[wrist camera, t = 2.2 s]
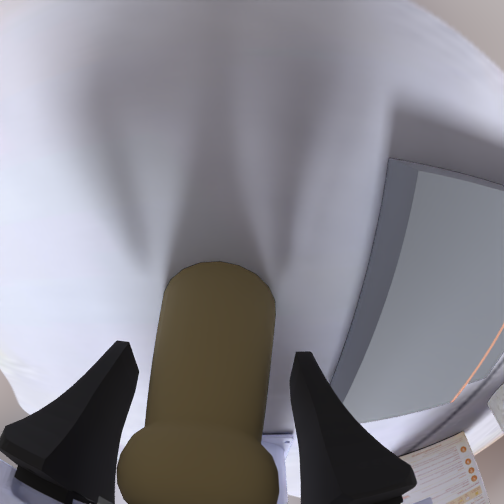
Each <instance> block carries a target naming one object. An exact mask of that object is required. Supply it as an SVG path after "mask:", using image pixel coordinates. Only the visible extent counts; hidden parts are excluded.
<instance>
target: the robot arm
mask: <svg viewBox="0 0 504 504" xmlns="http://www.w3.org/2000/svg"><path fill="white" fill-rule="evenodd" d="M138 375H139V370H138V367H137V364H136V361H135V358H134V355H133V352H132V349H131V346H130V343H129V342H124V341H116V342H115V343H114V344H113V345H112V346H111V347H110V348H109V349H108V350H107V352H106V353H105V354H104V355H103V356H102V357H101V358H100V359H99V360H98V361H97V362H96V363H95V364H94V365H93V366H92V367H91V368H90V369H89V370H88V371H87V373H86V374H85V375H83V376H82V377H81V378H80V379H79V380H78V381H77V382H76V383H75V384H74V385H73V386H72V387H71V388H69V389H68V390H67V391H66V392H65V393H63V394H62V395H61V396H60V397H58V398H57V399H56V400H54V401H53V402H51V403H50V404H48V405H47V406H45V407H44V408H42V409H40V410H39V411H37V412H35V413H33V414H32V415H30V416H28V417H26V418H24V419H22V420H19V421H17V422H14V423H12V424H10V425H7V426H5V429H4V431H3V433H2V435H1V437H0V451H1V452H2V453H4V454H5V455H6V456H7V457H9V458H10V459H11V460H12V461H13V462H15V463H16V464H17V465H18V467H17V469H15V468H14V467H13V466H11V465H9V464H8V463H6V462H5V461H3V460H1V459H0V504H89V503H90V504H115V496H114V493H115V473H116V464H117V456H118V449H119V443H120V438H121V434H122V430H123V427H124V424H125V420H126V417H127V414H128V411H129V408H130V405H131V402H132V399H133V396H134V393H135V390H136V385H137V380H138ZM290 396H291V405H292V411H293V417H294V422H295V428H296V433H297V439H298V445H299V455H300V476H301V504H400V503H402V502H403V497H402V495H403V494H405V493H406V492H408V491H410V490H411V489H413V488H414V487H415V486H416V485H417V480H416V476H415V474H414V471H413V469H412V467H411V465H410V464H408V463H406V462H405V461H403V460H402V459H400V458H399V457H397V456H396V455H395V454H393V453H392V452H391V451H389V450H388V449H387V448H385V447H384V446H383V445H382V444H381V443H379V442H378V441H377V440H376V439H375V438H374V437H373V436H372V435H370V434H369V433H368V432H367V431H366V430H365V429H364V428H363V427H362V426H361V425H360V424H359V422H358V421H357V420H356V419H355V418H354V417H353V416H352V415H351V413H350V412H349V411H348V410H347V408H346V407H345V406H344V404H343V403H342V402H341V400H340V399H339V398H338V396H337V395H336V393H335V392H334V390H333V389H332V387H331V386H330V384H329V383H328V381H327V380H326V378H325V376H324V375H323V373H322V371H321V369H320V368H319V366H318V364H317V362H316V360H315V358H314V356H313V354H312V353H311V352H296V354H295V359H294V363H293V368H292V372H291V377H290ZM293 440H294V438H293V435H291V434H283V435H262V441H261V444H262V445H263V446H264V448H265V449H266V450H267V451H268V452H269V453H270V454H271V455H272V456H273V459H274V462H275V464H276V467H277V470H278V476H279V496H278V500H277V504H288V496H287V481H286V467H285V459H286V457H287V455H288V452H289V450H290V447H291V445H292V442H293ZM413 504H433V502H432V498H430V497H429V498H426V499H424V500H421V501H419V502H416V503H413Z"/></svg>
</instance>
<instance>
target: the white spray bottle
mask: <svg viewBox="0 0 504 504" xmlns="http://www.w3.org/2000/svg"><path fill="white" fill-rule="evenodd" d="M488 407H489V408H490V410H491V411H492V413H493V415H494V417H495V418H496V420H497V422H498V424H499V425H500V427H501V429H502V431H503V433H504V384H502V385H501V386H500V388H499V389H498V390H497V391H496V392H495V393H494V394H493V395H492V397H491V398H490V400H489V401H488Z"/></svg>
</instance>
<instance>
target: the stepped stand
mask: <svg viewBox="0 0 504 504" xmlns="http://www.w3.org/2000/svg"><path fill="white" fill-rule="evenodd" d="M503 352H504V186H503V185H500V184H497V183H494V182H490V181H487V180H484V179H480V178H477V177H473V176H469V175H466V174H462V173H458V172H454V171H450V170H446V169H442V168H437V167H433V166H428V165H424V164H419V163H414V162H409V161H404V160H398V159H393V158H389V163H388V170H387V176H386V182H385V189H384V194H383V200H382V205H381V211H380V216H379V221H378V226H377V230H376V235H375V239H374V244H373V248H372V252H371V257H370V261H369V265H368V269H367V273H366V276H365V280H364V284H363V287H362V291H361V295H360V298H359V302H358V305H357V308H356V312H355V315H354V318H353V321H352V324H351V328H350V331H349V334H348V337H347V340H346V343H345V346H344V349H343V351H342V354H341V357H340V360H339V363H338V365H337V368H336V371H335V373H334V376H333V379H332V381H331V384H330V386H331V387H332V389H333V390H334V392H335V393H336V395H337V396H338V398H339V399H340V400H341V402H342V403H343V404H344V406H345V407H346V408H347V410H348V411H349V412H350V413H351V415H352V416H353V417H354V418H355V419H356V420H357V421H358V422H359V424H360V423H366V422H372V421H378V420H383V419H388V418H393V417H398V416H403V415H407V414H411V413H415V412H419V411H423V410H427V409H431V408H434V407H438V406H441V405H445V404H448V403H451V402H453V401H454V400H455V399H456V398H457V397H458V395H459V394H460V393H461V391H462V390H463V389H464V388H465V386H466V385H467V384H469V383H472V382H475V381H478V380H481V379H484V378H486V377H487V376H488V374H489V373H490V372H491V370H492V369H493V367H494V366H495V364H496V363H497V361H498V360H499V358H500V357H501V355H502V354H503Z"/></svg>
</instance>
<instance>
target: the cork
mask: <svg viewBox="0 0 504 504" xmlns="http://www.w3.org/2000/svg"><path fill="white" fill-rule="evenodd" d="M275 316H276V313H275V300H274V297H273V295H272V293H271V291H270V289H269V287H268V286H267V285H266V284H265V283H264V282H263V281H262V280H261V279H260V278H259V277H258V276H257V275H256V274H254V273H253V272H251V271H249V270H247V269H245V268H243V267H241V266H239V265H234V264H229V263H225V262H220V261H218V262H204V263H198V264H195V265H193V266H190V267H188V268H185V269H183V270H182V271H180V272H179V273H178V274H177V275H176V276H174V277H173V278H172V279H171V280H170V282H169V284H168V286H167V288H166V290H165V292H164V296H163V301H162V306H161V312H160V317H159V323H158V329H157V335H156V341H155V347H154V354H153V361H152V368H151V375H150V383H149V391H148V400H147V409H146V419H145V427H144V428H142V429H141V430H139V431H138V432H136V433H135V434H134V435H133V436H132V437H131V439H130V440H129V441H128V443H127V444H126V446H125V448H124V449H123V451H122V452H121V454H120V458H119V462H118V465H117V484H118V486H119V489H120V491H121V494H122V496H123V499H124V500H125V501H126V502H127V503H128V504H277V500H278V496H279V476H278V470H277V467H276V464H275V462H274V459H273V456H272V455H271V454H270V453H269V452H268V451H267V450H266V449H265V448H264V446H263V445H262V444H261V441H262V433H263V425H264V417H265V409H266V400H267V392H268V383H269V374H270V365H271V356H272V346H273V336H274V326H275Z"/></svg>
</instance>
